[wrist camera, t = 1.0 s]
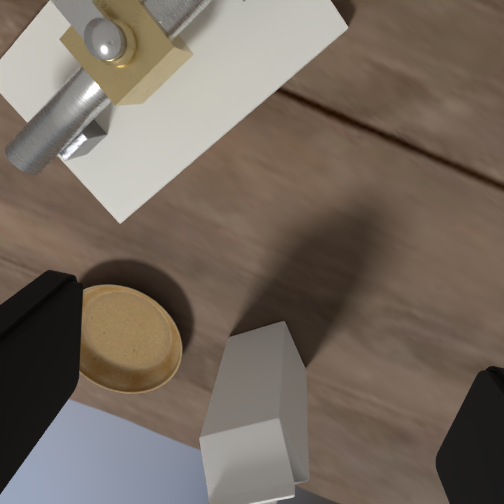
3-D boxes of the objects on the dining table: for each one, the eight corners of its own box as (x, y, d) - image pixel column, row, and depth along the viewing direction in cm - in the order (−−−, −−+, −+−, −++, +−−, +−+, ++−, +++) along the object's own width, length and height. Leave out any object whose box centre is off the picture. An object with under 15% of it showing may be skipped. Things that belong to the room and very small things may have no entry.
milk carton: (227, 336, 47) (186, 480, 30) (284, 319, 46) (276, 460, 28) (251, 383, 50) (225, 543, 32) (306, 368, 48) (311, 528, 30)
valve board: (210, -176, 31) (206, -189, 29) (346, 30, 35) (348, 27, 33) (-4, 77, 39) (-15, 77, 38) (125, 219, 43) (119, 223, 42)
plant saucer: (211, 351, 49) (207, 365, 46) (119, 396, 53) (111, 411, 51) (137, 252, 45) (128, 261, 43) (44, 309, 49) (31, 320, 47)
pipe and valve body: (254, -103, 31) (238, -174, 23) (298, -36, 32) (298, -81, 24) (38, 127, 39) (-32, 137, 31) (79, 173, 41) (23, 194, 32)
